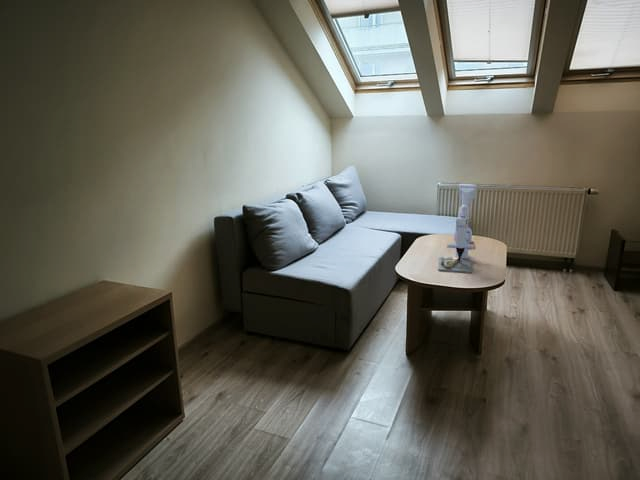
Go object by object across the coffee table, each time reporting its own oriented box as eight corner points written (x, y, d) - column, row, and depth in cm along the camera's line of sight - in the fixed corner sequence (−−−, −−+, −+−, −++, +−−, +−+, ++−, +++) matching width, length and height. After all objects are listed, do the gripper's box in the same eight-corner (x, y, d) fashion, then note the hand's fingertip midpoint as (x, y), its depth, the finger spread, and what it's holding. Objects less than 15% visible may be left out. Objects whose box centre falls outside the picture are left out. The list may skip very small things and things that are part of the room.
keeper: (440, 263, 258) (441, 256, 257) (452, 264, 257) (452, 257, 256) (440, 264, 256) (440, 257, 255) (452, 265, 254) (452, 258, 253)
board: (439, 259, 269) (439, 257, 269) (470, 261, 264) (470, 259, 264) (438, 270, 249) (438, 269, 249) (472, 273, 245) (472, 271, 244)
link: (449, 268, 249) (450, 263, 248) (443, 267, 251) (443, 262, 250) (460, 260, 263) (460, 255, 262) (454, 259, 265) (454, 254, 264)
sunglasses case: (476, 249, 286) (471, 240, 285) (465, 254, 289) (461, 245, 288) (474, 241, 303) (469, 233, 302) (464, 246, 305) (459, 238, 305)
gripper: (447, 238, 254) (446, 261, 258) (474, 240, 250) (472, 263, 254) (447, 235, 261) (446, 257, 265) (474, 237, 257) (472, 259, 261)
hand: (459, 260), depth 260 cm, fingers closed, pressing on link
